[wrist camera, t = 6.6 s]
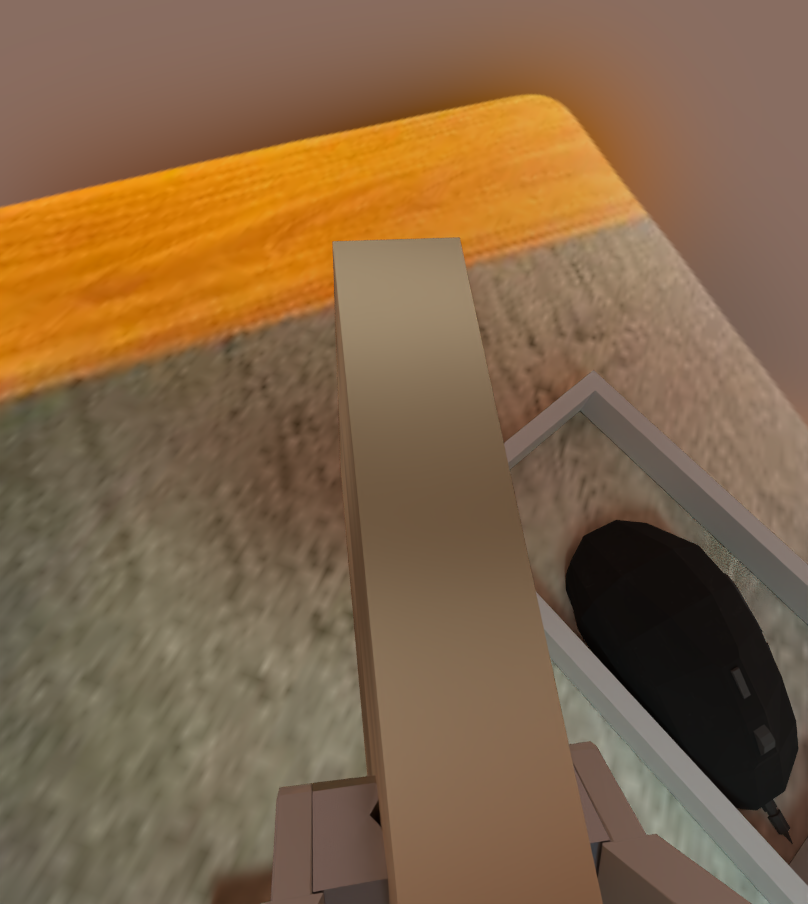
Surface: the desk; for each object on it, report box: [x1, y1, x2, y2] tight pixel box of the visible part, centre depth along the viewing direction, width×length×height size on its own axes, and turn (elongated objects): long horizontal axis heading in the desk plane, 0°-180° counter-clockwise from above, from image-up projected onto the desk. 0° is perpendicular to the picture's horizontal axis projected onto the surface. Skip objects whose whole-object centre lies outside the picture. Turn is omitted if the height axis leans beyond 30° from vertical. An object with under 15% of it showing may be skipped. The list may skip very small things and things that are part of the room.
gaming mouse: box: [566, 520, 798, 844], centre depth 23 cm, size 6×15×4 cm, turn 26°
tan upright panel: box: [333, 238, 603, 904], centre depth 11 cm, size 11×2×9 cm, turn 7°
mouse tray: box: [504, 370, 808, 904], centre depth 24 cm, size 20×11×2 cm, turn 41°
